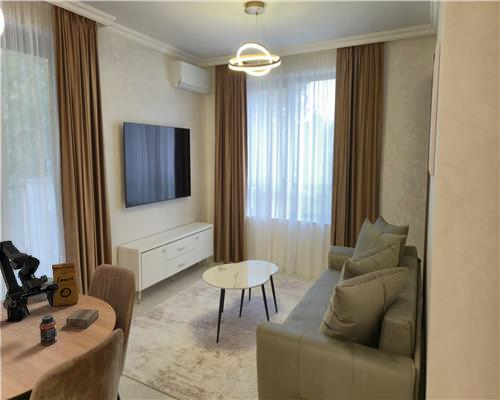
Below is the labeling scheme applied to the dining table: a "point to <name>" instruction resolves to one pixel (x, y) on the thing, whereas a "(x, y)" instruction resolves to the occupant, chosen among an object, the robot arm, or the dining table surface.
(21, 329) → the dining table surface
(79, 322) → the metal block
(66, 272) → the coffee package
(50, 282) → the light bulb box
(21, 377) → the dining table surface
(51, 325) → the supplement bottle
